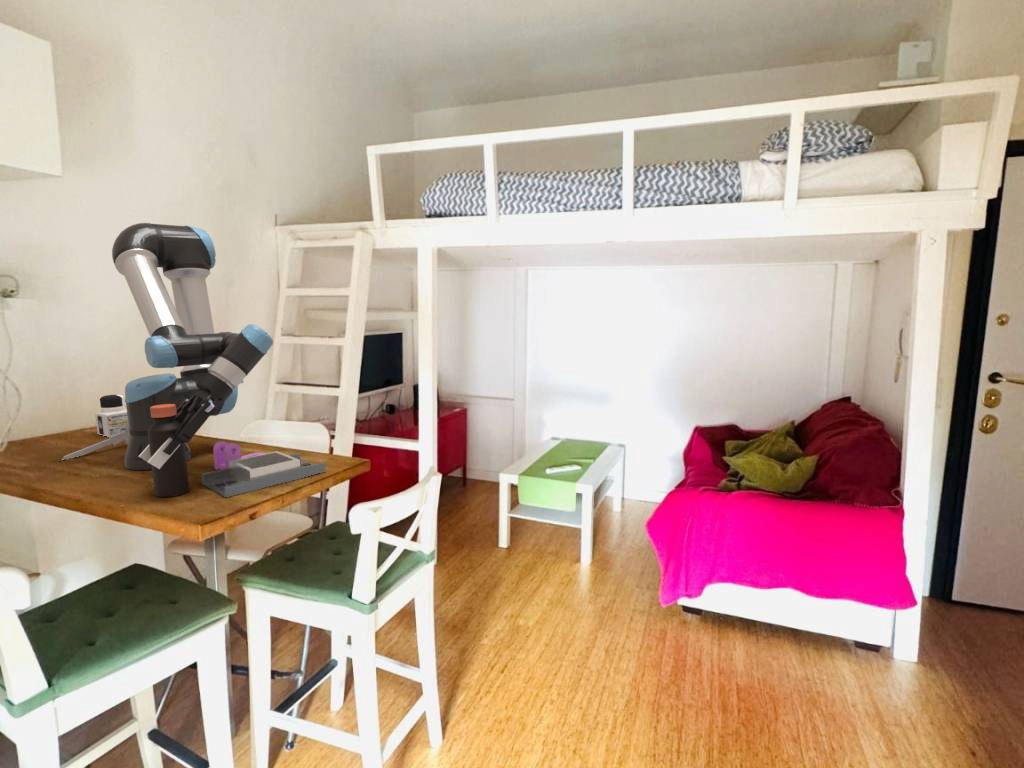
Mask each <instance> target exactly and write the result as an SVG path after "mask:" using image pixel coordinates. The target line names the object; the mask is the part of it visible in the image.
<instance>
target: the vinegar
mask: <svg viewBox="0 0 1024 768" xmlns="http://www.w3.org/2000/svg"><path fill="white" fill-rule="evenodd" d="M150 412H151V417H153V418H152V419H153V422H154V423H153V424H152V425H151V427H150V428H149V429H148V438H149V447H150V455H151V457H152V456H153V455H154V454H155V453H156V451H157V450H158V449H159V448H160V447H161V446H162V445H163V444H164V443H165V442H166V441H167V440H168V439H169V438H171V437H169V434H173V435H174V433H175V432H176V430H177V429H178V428H179V426H180V425H181V424H180V423H178V422H177V421H176V418H175V417H177V411H176V405H175V404H163V405H156V406H152V407H150ZM171 439H172V438H171ZM187 462H188V461H187V459H186V450H185V442H184V443H183V444H181V445H180V446H179V447H178V448H177V449H176V450H175V452H174V453H173V454H172V455H171V456H170V457H169V459H168V460H167V461H166V462H165V463H164V464H163V466H162V467H161V468H160V469H158V468H157V467H155V466H153V465H152V469H151V470H152V471H151V472H152V478H153V481H152V482H153V488H154V494H155V496H156V497H158V498H168V497H170V498H171V497H177V496H180V495H183V494H185V493H187V492H188V491H190V479H189V478H190V477H189V470H188V463H187Z"/></svg>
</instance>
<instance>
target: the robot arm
mask: <svg viewBox="0 0 1024 768" xmlns="http://www.w3.org/2000/svg"><path fill="white" fill-rule="evenodd" d="M111 249H112V250H111V256H112V261H113V264H114V266H115V269H116V271H117V272H118V273H119V274H120V275H122V276H124V278H125V281H126V283H127V286H128V288H129V290H130V293H131V294H132V297H133V299H134V301H135V305H136V306H137V307H136V308H137V309H138V311H139V313H140V316H141V318H142V321H143V323H144V325H145V327H146V330H147V333H148V334H149V335H148V336H149V337H147V338H146V339H145V341H144V353H145V354H144V355H145V359H146V361H147V363H148V365H149V366H150V367H152V368H155V369H168V368H170V369H175V368H180V367H183V368H182V369H180V371H179V374H180V377H177V376H176V375H175V374H174V373H160V374H153V375H147V376H143V377H139V378H136V379H133V380H131V381H129V382H127V383H126V385H125V387H124V399H125V409H126V410H127V416H128V425H129V433H130V436H129V443H128V445H127V449H126V450H125V454H124V466H125V468H126V469H128V470H133V471H145V470H146V471H147V470H149V471H151V470H152V465H153V466H155V467H157V468H158V469H160V468H161V467H162V466H163V464H164V463H165V462H166V461H167V460H168V459H169V457H170V456H171V455H172V454H173V453H174V452H175V450H176V449H177V448H178V447H179V446H180V445H181V444H183V443H184V442H185V450H186V459H187V462H188V461H190V460H191V459H192V454H191V448H190V447H189V445H188V443H189V442H190V441H191V439H193V437H194V436H195V435H196V434H197V433H198V431H199V430H200V429H201V427H202V426H203V425H204V424H205V422H206V421H207V420H208V419H209V418H210V417H211V416H212V417H216V416H219V415H223V414H228V413H230V412H232V411H233V409H234V408H235V406H236V404H237V401H238V397H239V395H238V394H239V389H238V386H239V385H240V384H243V383H244V380H245V378H247V376H248V375H249V374H250V372H251V371H253V369H254V368H255V367H256V366H257V364H258V363H259V362H260V361H261V360H262V358H263V357H265V355H267V354H268V351H270V349H271V348H272V346H273V344H274V340H273V337H272V336H271V335H270V334H269V333H268V332H267V331H266V330H264V329H263V328H262V327H259V326H258V325H256V324H253V323H252V324H250V323H249V324H247V325H246V326H245V327H243V328H242V329H241V330H240V332H238V333H236V332H232V331H219V332H215V328H214V323H213V317H212V311H211V304H210V299H209V292H208V288H207V287H208V286H207V281H206V280H207V278H208V277H209V275H210V274H211V269H213V268H214V267H215V265H216V262H217V261H216V258H217V257H216V256H217V255H216V249H215V245H214V241H213V239H212V238H211V236H210V234H209V233H208V232H207V231H206V230H204V229H203V228H201V227H196V226H195V227H194V226H189V225H174V224H173V225H172V224H171V225H170V224H159V223H150V222H141V223H136V224H132V225H130V226H127V227H126V228H125V229H123V230H122V231H121V232H120V233H119V234H118V235H117V237H116V238H115V240H114V242H113V245H112V248H111ZM158 268H160V269H161V268H162V273H163V274H162V275H163V276H164V277H165V278H167V279H168V280H169V281H170V283H171V288H172V289H171V291H172V295H173V296H172V297H173V301H174V303H173V301H172V298H171V296H170V294H169V292H168V290H167V287H166V285H165V283H164V280H163V279H162V277H161V274H160V272H159V269H158ZM163 404H175V405H176V411H177V417H175V418H176V421H177V422H178V423H180V424H181V425H180V426H179V428H178V429H177V430H176V432H175V433H174V435H173V434H169V437H171V438H172V439H171V438H169V439H168V440H167V441H166V442H165V443H164V444H163V445H162V446H161V447H160V448H159V449H158V450H157V451H156V453H155V454H154V455H153V456H152V457H151V455H150V447H149V438H148V429H149V428H150V427H151V425H152V424H153V423H154V422H153V419H152V418H153V417H151V412H150V407H152V406H156V405H163Z"/></svg>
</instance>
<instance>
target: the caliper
mask: <svg viewBox="0 0 1024 768" xmlns="http://www.w3.org/2000/svg"><path fill="white" fill-rule="evenodd" d="M124 428H125V427H124ZM125 430H126V432H125V431H123V432H121V433H118V434H116V435H113V436H111V437H109V438H108V439H104V440H102V441H100V442H97V443H94V444H92V445H89V446H87V447H84V448H82V449H79V450H76V451H74V452H72V453H68V454H66V455H64V456H63V458H61V459H62V460H64V459H69V458H74V457H77V458H79V456H80V457H82V456H84V455H87V454H89V453H91V452H94V451H97V450H100V449H102V448H104V447H107V446H109V445H111V446H116V445H119V444H121V443H122V442H124V443H125V444H126V446H128V443H129V439H130V433H129V426H128V428H125Z"/></svg>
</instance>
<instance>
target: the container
mask: <svg viewBox="0 0 1024 768" xmlns="http://www.w3.org/2000/svg"><path fill="white" fill-rule="evenodd" d="M99 404H100V410H101V411H96V412H94V415H95V423H96V424H95V425H96V429H97V435H98V434H99V435H103V436H102V437H104V436H107V437H106V438H108V437H111V436H113V435H116V434H118V433H121V432H123V431H125V432H126V430H125V428H128V426H129V425H128V416H127V408H126V402H125V395H122V394H109V395H107V394H106V395H103V396H101V397H100V398H99ZM124 427H125V428H124ZM99 435H98V436H99Z"/></svg>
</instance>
